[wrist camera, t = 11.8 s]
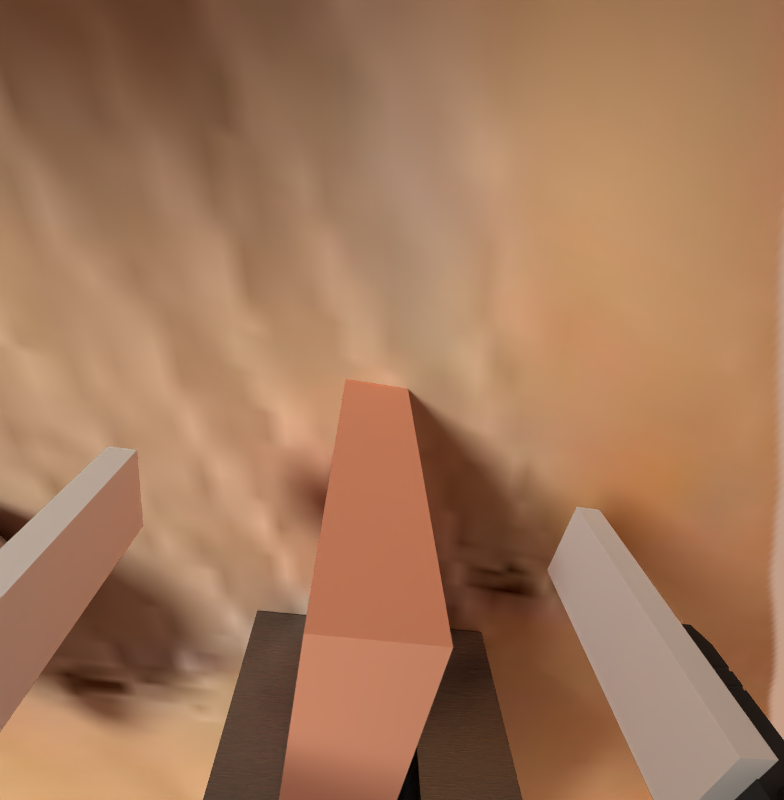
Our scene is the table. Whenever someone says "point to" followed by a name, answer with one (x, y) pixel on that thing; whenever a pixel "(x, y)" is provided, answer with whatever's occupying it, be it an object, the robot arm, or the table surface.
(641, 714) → the robot arm
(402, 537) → the salmon orange rectangular slab
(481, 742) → the block
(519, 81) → the table surface
